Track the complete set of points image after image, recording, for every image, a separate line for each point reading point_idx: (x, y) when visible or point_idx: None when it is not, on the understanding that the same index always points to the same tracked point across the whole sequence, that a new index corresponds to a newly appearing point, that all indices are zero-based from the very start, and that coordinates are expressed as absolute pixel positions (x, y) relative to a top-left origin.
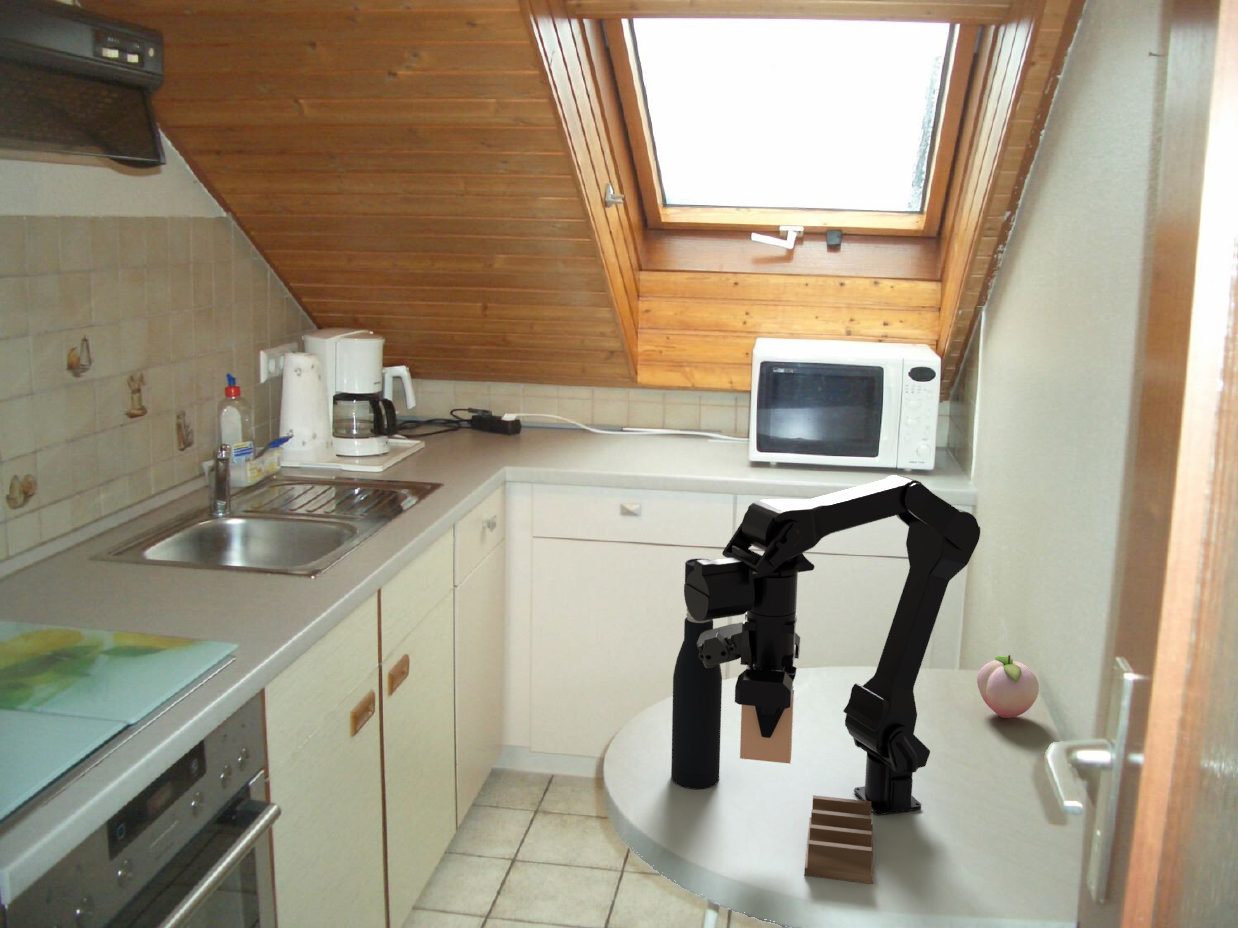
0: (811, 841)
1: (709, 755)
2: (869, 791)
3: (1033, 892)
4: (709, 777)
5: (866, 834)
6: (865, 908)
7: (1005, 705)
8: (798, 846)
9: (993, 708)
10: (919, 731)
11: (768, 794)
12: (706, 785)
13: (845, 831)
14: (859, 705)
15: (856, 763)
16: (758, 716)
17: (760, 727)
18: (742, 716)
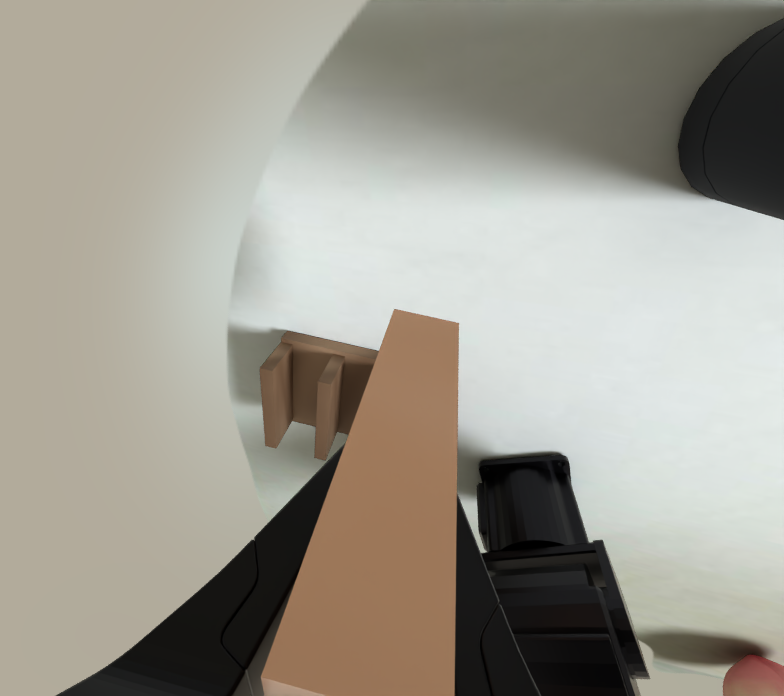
0: (268, 374)
1: (749, 176)
2: (519, 480)
3: None
4: (697, 169)
5: (315, 451)
6: (229, 388)
7: (736, 690)
8: (377, 337)
9: (757, 672)
10: (766, 581)
11: (593, 317)
12: (682, 156)
13: (316, 428)
14: (571, 687)
15: (680, 483)
16: (263, 530)
17: (313, 476)
18: (346, 448)
